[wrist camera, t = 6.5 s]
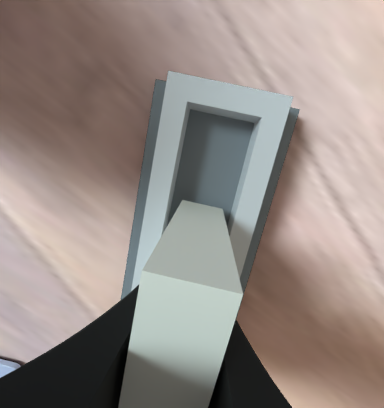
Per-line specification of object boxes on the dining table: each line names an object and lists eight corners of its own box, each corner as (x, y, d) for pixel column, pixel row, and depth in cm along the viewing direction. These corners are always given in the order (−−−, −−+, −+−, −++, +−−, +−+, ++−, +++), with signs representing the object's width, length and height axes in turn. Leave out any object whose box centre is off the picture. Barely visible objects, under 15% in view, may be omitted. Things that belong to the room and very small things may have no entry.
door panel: (189, 340, 12) (167, 536, 6) (155, 332, 12) (99, 517, 6) (222, 208, 10) (243, 294, 4) (182, 199, 10) (141, 270, 4)
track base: (212, 384, 15) (212, 425, 13) (114, 360, 15) (97, 396, 13) (293, 112, 11) (315, 101, 9) (159, 84, 11) (147, 66, 9)
